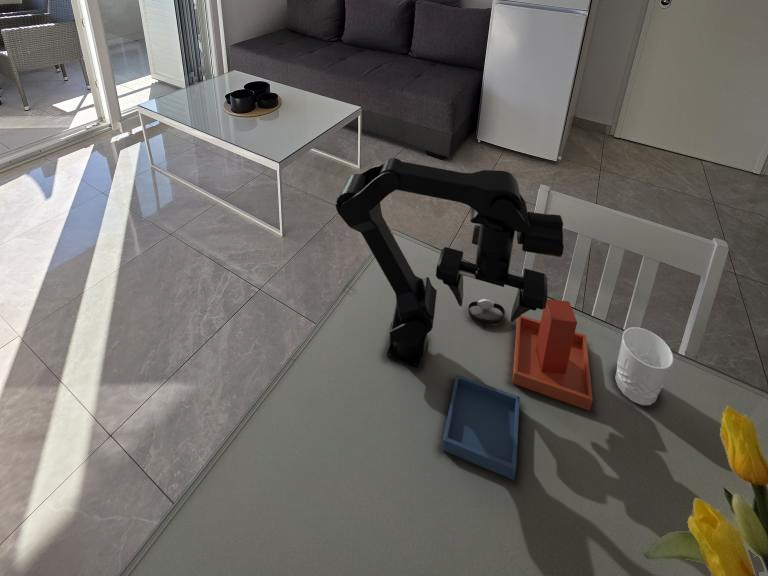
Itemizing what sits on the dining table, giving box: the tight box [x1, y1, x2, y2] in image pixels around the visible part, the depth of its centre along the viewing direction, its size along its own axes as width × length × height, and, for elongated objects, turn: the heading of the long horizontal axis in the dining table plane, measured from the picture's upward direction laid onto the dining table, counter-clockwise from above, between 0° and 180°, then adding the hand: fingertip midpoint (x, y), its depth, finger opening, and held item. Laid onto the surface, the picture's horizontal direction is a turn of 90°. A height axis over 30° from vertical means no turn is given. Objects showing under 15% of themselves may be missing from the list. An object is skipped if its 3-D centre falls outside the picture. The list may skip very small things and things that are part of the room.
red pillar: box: [535, 298, 578, 374], centre depth 81 cm, size 4×4×13 cm
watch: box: [467, 298, 506, 326], centre depth 92 cm, size 8×5×4 cm, turn 85°
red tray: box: [512, 315, 594, 411], centre depth 83 cm, size 13×13×3 cm
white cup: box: [614, 326, 674, 406], centre depth 78 cm, size 8×8×10 cm
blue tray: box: [441, 374, 521, 481], centre depth 72 cm, size 11×11×2 cm
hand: (485, 312), depth 78 cm, fingers open, 9 cm apart
